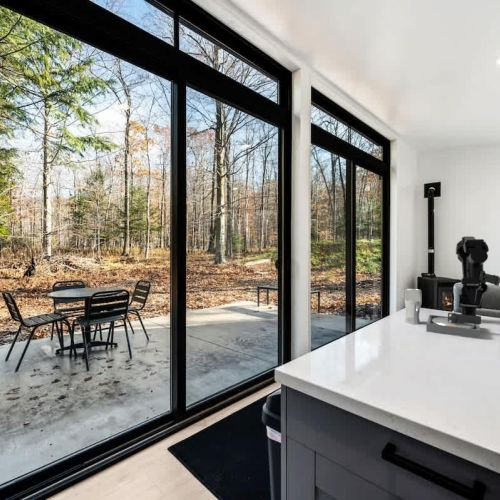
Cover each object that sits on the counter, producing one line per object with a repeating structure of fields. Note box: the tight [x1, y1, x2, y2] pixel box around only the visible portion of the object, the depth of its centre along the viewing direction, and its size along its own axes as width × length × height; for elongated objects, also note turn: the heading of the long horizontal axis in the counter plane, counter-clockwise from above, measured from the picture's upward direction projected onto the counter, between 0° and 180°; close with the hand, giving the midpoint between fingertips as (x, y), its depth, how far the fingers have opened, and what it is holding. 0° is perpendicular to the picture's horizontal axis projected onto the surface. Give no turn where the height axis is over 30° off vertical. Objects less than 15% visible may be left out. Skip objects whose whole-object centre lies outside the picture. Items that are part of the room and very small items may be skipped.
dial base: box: [425, 314, 482, 340], centre depth 133 cm, size 18×18×4 cm
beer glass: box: [403, 288, 423, 325], centre depth 145 cm, size 7×7×15 cm
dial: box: [432, 312, 482, 329], centre depth 132 cm, size 17×15×5 cm
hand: (475, 304), depth 132 cm, fingers open, 9 cm apart
